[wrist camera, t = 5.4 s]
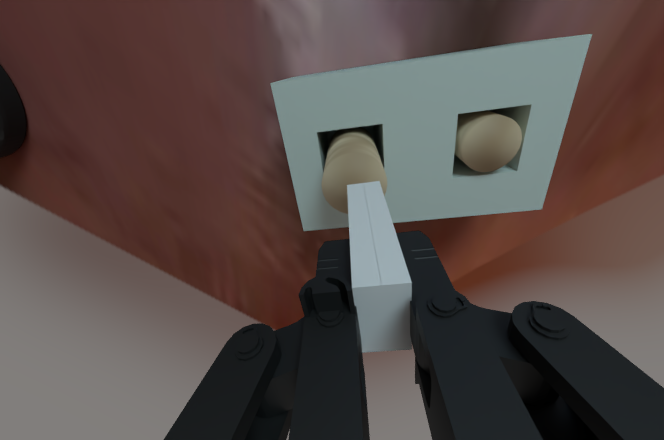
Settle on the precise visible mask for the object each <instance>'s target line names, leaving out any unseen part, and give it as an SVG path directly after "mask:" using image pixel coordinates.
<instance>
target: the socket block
mask: <svg viewBox="0 0 664 440" xmlns="http://www.w3.org/2000/svg"><path fill="white" fill-rule="evenodd" d="M591 36H592V34H587V35H579V36H570V37H562V38H553V39H544V40H536V41H527V42H518V43H510V44H504V45H498V46H491V47H485V48H478V49H472V50H465V51H459V52H452V53H446V54H439V55H433V56H426V57H420V58H413V59H407V60H401V61H394V62H388V63H381V64H375V65H368V66H362V67H355V68H349V69H342V70H336V71H329V72H323V73H317V74H310V75H304V76H297V77H292V78H288V79H284V80H281V81H277V82H274V83H271V88H272V92H273V97H274V101H275V106H276V110H277V115H278V119H279V124H280V128H281V132H282V137H283V141H284V146H285V150H286V155H287V159H288V164H289V168H290V173H291V177H292V182H293V186H294V191H295V195H296V200H297V204H298V208H299V213H300V217H301V222H302V226H303V231H311V230H322V229H333V228H343V227H349V216H348V214H346V213H342V212H340V211H338V210H336V209H334V208H333V207H332V206H331V205H330V204H329V203H328V202H327V201H326V199H325V197H324V195H323V192H322V177H323V172H324V167H325V162H326V158H327V153H328V148H329V143H330V140H331V138H332V136H333V135H334V134H335V132H337V131H338V130H339V129H347V128H354V127H362V128H364V129H366V130H367V131H368V132H369V133H370V134H371V136H372V137H373V140H374V142H375V145H376V148H377V151H378V154H379V156H380V159H381V162H382V165H383V168H384V170H385V173H386V177H387V190H386V193H385V196H384V197H385V200H386V203H387V206H388V209H389V213H390V216H391V219H392V222H393V223H398V222H409V221H420V220H431V219H442V218H453V217H464V216H474V215H485V214H496V213H507V212H518V211H529V210H540V209H542V207H543V203H544V200H545V196H546V193H547V189H548V186H549V182H550V179H551V175H552V172H553V168H554V165H555V161H556V158H557V154H558V151H559V147H560V144H561V140H562V137H563V133H564V130H565V126H566V123H567V120H568V116H569V113H570V109H571V106H572V102H573V99H574V95H575V92H576V88H577V85H578V81H579V78H580V74H581V71H582V67H583V64H584V60H585V57H586V53H587V50H588V46H589V43H590V39H591ZM484 110H488V111H491V112H494V113H497V114H500V115H503V116H506V117H509V118H511V119H513V120H514V121H516V122H517V124H518V125H519V126H520V129H521V132H522V141H521V145H520V148H519V150H518V152H517V153H516V155H515V156H514V157H513V159H512V160H511V161H510V162H509V163H507V164H506V165H504V166H503V167H501V168H499V169H497V170H494V171H490V172H479V171H475V170H473V169H471V168H470V167H469V166H467V165H466V164H465V163H464V162H463V161H462V160H460V159H459V158H458V157H457V156H456V155H454V152H455V142H456V131H457V120H458V114H461V113H469V112H476V111H484Z"/></svg>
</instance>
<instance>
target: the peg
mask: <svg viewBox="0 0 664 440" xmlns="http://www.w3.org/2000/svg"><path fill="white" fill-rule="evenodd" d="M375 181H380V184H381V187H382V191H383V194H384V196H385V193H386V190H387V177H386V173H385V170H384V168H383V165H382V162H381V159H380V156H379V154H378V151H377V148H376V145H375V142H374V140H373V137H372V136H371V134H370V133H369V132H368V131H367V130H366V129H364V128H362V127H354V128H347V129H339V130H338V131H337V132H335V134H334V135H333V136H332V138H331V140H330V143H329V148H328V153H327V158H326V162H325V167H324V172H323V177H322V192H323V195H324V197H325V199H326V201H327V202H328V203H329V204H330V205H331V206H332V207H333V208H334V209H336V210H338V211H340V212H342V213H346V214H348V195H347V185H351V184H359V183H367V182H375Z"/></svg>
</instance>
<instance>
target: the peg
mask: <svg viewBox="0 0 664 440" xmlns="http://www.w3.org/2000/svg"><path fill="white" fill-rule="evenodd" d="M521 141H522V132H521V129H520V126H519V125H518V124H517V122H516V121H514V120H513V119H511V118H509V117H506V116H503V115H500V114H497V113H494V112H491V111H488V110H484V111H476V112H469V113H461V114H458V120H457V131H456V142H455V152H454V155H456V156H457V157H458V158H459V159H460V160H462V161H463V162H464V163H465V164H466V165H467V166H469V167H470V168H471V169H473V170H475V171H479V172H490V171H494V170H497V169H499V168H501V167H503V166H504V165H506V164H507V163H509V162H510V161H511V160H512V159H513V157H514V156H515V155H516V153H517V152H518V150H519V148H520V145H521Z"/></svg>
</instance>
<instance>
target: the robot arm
mask: <svg viewBox="0 0 664 440" xmlns="http://www.w3.org/2000/svg"><path fill="white" fill-rule="evenodd" d="M25 133H26V119H25V113H24V109H23V106H22V103H21V100H20V98H19V95H18V93H17V91H16V89H15V87H14V85H13V83H12V82H11V80H10V78H9V77H8V75H7V74H6V72H5V71H4V69H3V68H2V67H1V65H0V158H1V157H4V156H8V155H10V154H12V153H14V152H15V151H16V150H17V149H18V148H19V147H20V146H21V144H22V143H23V140H24V138H25ZM347 195H348V216H349V237H350V239H344V240H335V241H325V242H324V244H323V245H322V247H321V248H320V249H319V253H318V262H317V270H316V277H315V278H313V279H311V280H309V281H308V282H307V283H306V284H305V285H304V286H303V287H302V288H301V291H300V293H299V298H300V301H301V305H302V308H303V312H304V315H305V316H304V317H303V318H302V319H300V320H299V321H298V322H296V323H294V324H291V325H289V326H286V327H284V328H281V329H278V330H276V331H273V330H272V328H271V327H270V326H268V325H265V324H252V325H249V326H246V327H243V328H242V329H240V330H239V331H237V332H236V333H235V334H233V336H232V337H231V338H230V339H229V340H228V341H227V343H226V344H225V346H224V347H223V349H222V350H221V352H220V353H219V355H218V357H217V358H216V360H215V361H214V363H213V364H212V366H211V367H210V369H209V370H208V372H207V374H206V375H205V377H204V378H203V380H202V381H201V383H200V384H199V386H198V388H197V389H196V391H195V392H194V394H193V395H192V397H191V398H190V400H189V402H188V403H187V404H186V406H185V408H184V409H183V411H182V412H181V414H180V415H179V417H178V418H177V420H176V421H175V423H174V425H173V426H172V428H171V429H170V431H169V432H168V434H167V436H166V437H165V439H164V440H286V438H287V435H288V432H289V429H290V433H289V440H370V437H369V424H368V412H367V399H366V387H365V373H364V366H363V357H362V353H363V352H378V351H394V350H410V349H412V345H413V349H414V353H415V383H416V384H419V385H420V389H421V394H422V398H423V402H424V406H425V410H426V415H427V419H428V423H429V427H430V431H431V436H432V440H664V388H663V387H662V386H660V385H659V384H658V383H657V382H655V381H654V380H653V379H652V378H650V377H649V376H648V375H647V374H645V373H644V372H643V371H642V370H640V369H639V368H638V367H637V366H635V365H634V364H633V363H631V362H630V361H629V360H628V359H627V358H625V357H624V356H623V355H622V354H620V353H619V352H618V351H617V350H615V349H614V348H613V347H611V346H610V345H609V344H608V343H607V342H605V341H604V340H603V339H602V338H600V337H599V336H598V335H596V334H595V333H594V332H593V331H591V330H590V329H589V328H588V327H586V326H585V325H584V324H583V323H581V322H580V321H579V320H577V319H576V318H575V317H574V316H572V315H571V314H569V313H568V312H566V311H564V310H563V309H561V308H559V307H556V306H553V305H551V304H548V303H543V302H536V301H531V302H523V303H521V304H519V305H517V306H516V307H515V308H514V310H513V312H512V313H507V312H501V311H496V310H490V309H485V308H481V307H478V306H476V305H473V304H471V303H470V302H469V301H468V300H467V299H466V297H465V296H463V295H462V294H460V293H458V292H457V291H455V289H454V288H453V286H452V284H451V282H450V280H449V278H448V275H447V273H446V271H445V269H444V267H443V265H442V263H441V261H440V259H439V257H438V255H437V253H436V251H435V249H434V247H433V245H432V243H431V241H430V239H429V238H428V237H427V236H426V235H424V234H423V233H422V232H420V231H411V232H402V233H396V231H395V228H394V225H393V222H392V219H391V216H390V213H389V209H388V206H387V203H386V200H385V197H384V194H383V191H382V187H381V184H380V181H375V182H367V183H359V184H351V185H347Z"/></svg>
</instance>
